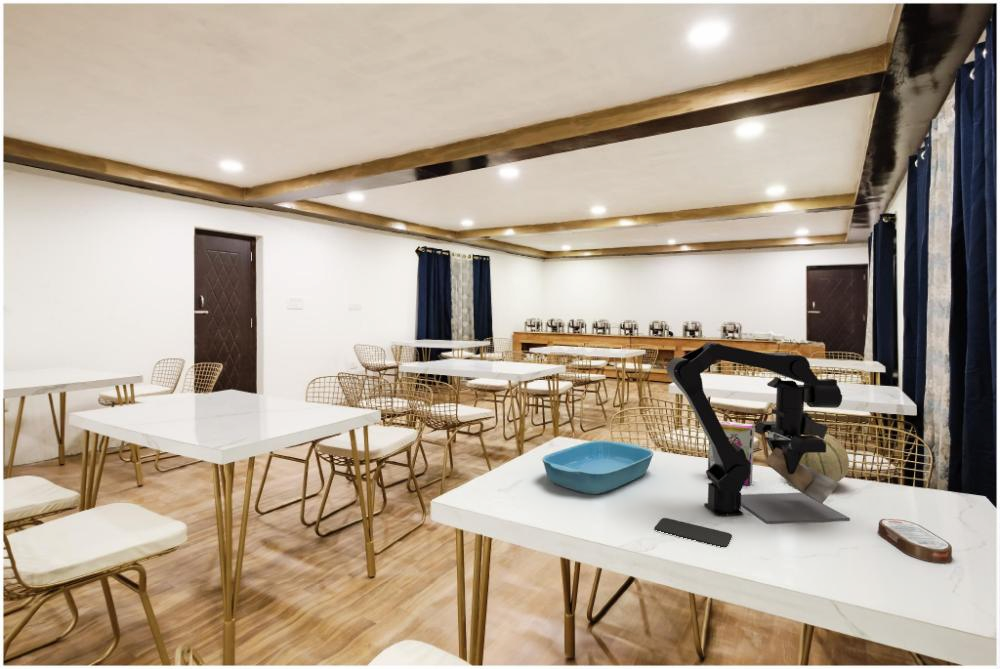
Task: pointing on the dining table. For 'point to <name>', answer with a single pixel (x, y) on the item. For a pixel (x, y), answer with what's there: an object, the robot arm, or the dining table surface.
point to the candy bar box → (738, 442)
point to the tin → (915, 540)
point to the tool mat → (789, 508)
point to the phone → (694, 532)
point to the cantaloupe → (828, 459)
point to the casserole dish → (597, 465)
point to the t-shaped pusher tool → (802, 477)
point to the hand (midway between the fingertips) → (786, 471)
